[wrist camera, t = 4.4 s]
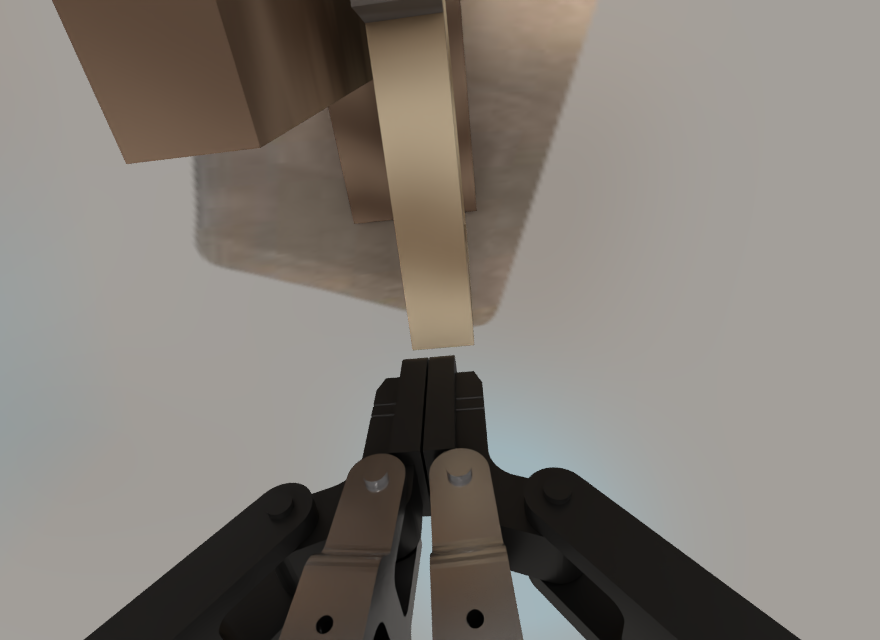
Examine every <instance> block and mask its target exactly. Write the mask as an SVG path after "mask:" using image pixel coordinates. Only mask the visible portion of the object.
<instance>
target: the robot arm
mask: <svg viewBox="0 0 880 640" xmlns="http://www.w3.org/2000/svg"><path fill="white" fill-rule="evenodd" d="M371 416H372V418H371V420H370V425H369V429H368V434H367V439H366V444H365V448H364V453H363V458H362V460H360V461H359V462H358V463H356V464H355V465H354V466H353V468H352V469H351V470H350V472H349V474H348V476H347V479H346V480H345V481H344V482H342V483H340V484H339V485H336V486H334V487H331V488H328V489H325V490H322V491H319V492H316V493H313V494H311V492H310V490H309V489H308V488H307V487H306V486H304V485H302V484H298V483H286V484H282V485H279V486H276V487H274V488H272V489H270V490H269V491H267V492H266V493H265V494H263V495H262V496H261V497H260V498H259V499H257V500H256V501H255V502H253V503H252V504H251V505H250V506H248V507H247V508H246V509H245V510H244V511H242V512H241V513H240V514H239V515H238V516H236V517H235V518H234V519H232V520H231V521H230V522H229V523H228V524H226V525H225V526H224V527H223V528H221V529H220V530H219V531H218V532H216V533H215V534H214V535H213V536H211V537H210V538H209V539H208V540H207V541H205V542H204V543H203V544H202V545H200V546H199V547H198V548H197V549H195V550H194V551H193V552H192V553H190V554H189V555H188V556H187V557H186V558H184V559H183V560H182V561H180V562H179V563H178V564H177V565H176V566H175V567H173V568H172V569H171V570H169V571H168V572H167V573H166V574H164V575H163V576H162V577H161V578H159V579H158V580H157V581H156V582H155V583H153V584H152V585H151V586H150V587H148V588H147V589H146V590H145V591H143V592H142V593H141V594H140V595H138V596H137V597H136V598H135V599H134V600H132V601H131V602H130V603H129V604H127V605H126V606H125V607H124V608H122V609H121V610H120V611H119V612H117V613H116V614H115V615H114V616H113V617H111V618H110V619H109V620H108V621H106V622H105V623H104V624H103V625H101V626H100V627H99V628H98V629H96V630H95V631H94V632H93V633H92V634H90V635H89V636H88V637H87V638H85V639H84V640H411V623H412V615H413V607H414V600H415V592H416V585H417V578H418V571H419V564H420V556H421V548H422V542H421V530H422V516H431V526H432V553H431V554H430V580H431V609H432V637H433V640H523V636H522V630H521V625H520V620H519V614H518V609H517V604H516V598H515V593H514V587H513V582H512V577H511V572H510V570H511V571H514V572H517V573H521V574H524V575H528V576H529V578H530V580H531V582H532V583H533V585H534V586H535V587H536V588H537V589H538V590H539V591H540V592H541V593H542V594H543V595H544V596H545V597H546V598H547V599H548V601H550V603H552V605H553V606H554V607H555V608H556V609H557V610H558V611H559V612H560V613H561V614H562V615H563V616H564V617H565V618H566V619H567V620H568V621H569V622H570V623H571V624H572V625H573V626H574V627H575V628H576V630H577V631H578V632H579V633H581V635H582V636H583V637H584V638H585V639H586V640H800V639H799V638H798V637H796V636H795V635H794V634H792V633H791V632H790V631H788V630H787V629H786V628H784V627H783V626H782V625H780V624H779V623H777V622H776V621H775V620H773V619H772V618H771V617H769V616H768V615H767V614H765V613H764V612H763V611H761V610H760V609H759V608H757V607H756V606H754V605H753V604H752V603H750V602H749V601H748V600H746V599H745V598H743V597H742V596H741V595H740V594H738V593H737V592H735V591H734V590H733V589H731V588H730V587H729V586H727V585H726V584H725V583H723V582H722V581H721V580H719V579H718V578H716V577H715V576H713V574H711V573H710V572H708V571H707V570H705V569H704V568H703V567H701V566H700V565H699V564H698V563H696V562H695V561H694V560H692V559H691V558H690V557H688V556H687V555H685V554H684V553H683V552H681V551H680V550H679V549H677V548H676V547H674V546H673V545H672V544H670V543H669V542H668V541H666V540H665V539H663V538H662V537H661V536H660V535H658V534H657V533H655V532H654V531H653V530H651V529H650V528H649V527H648V526H646V525H645V524H643V523H642V522H640V521H639V520H638V519H637V518H635V517H634V516H633V515H631V514H630V513H629V512H627V511H626V510H625V509H623V508H622V507H620V506H619V505H618V504H616V503H615V502H614V501H612V500H611V499H610V498H608V497H607V496H605V495H604V494H603V493H601V492H600V491H599V490H597V489H596V488H594V487H593V486H592V485H591V484H589V483H588V482H587V481H585V480H584V479H583V478H581V477H580V476H578V475H577V474H575V473H574V472H571V471H569V470H566V469H563V468H545V469H541V470H539V471H537V472H535V473H534V474H533V475H531V477H529V478H525V477H521V476H516V475H513V474H509V473H507V472H505V471H503V470H501V469H500V468H499V467H498V466H496V465H495V464H494V462H493V461H492V460H491V458H490V456H489V452H488V444H487V432H486V421H485V409H484V398H483V387H482V382H481V380H480V379H479V378H478V376H477V375H476V374H475V372H474V371H472V372H459V373H457V370H456V361H455V356H454V355H452V356H440V357H430V358H429V359H428V358H417V359H405V360H403V361H402V367H401V374H400V377H397V378H387V379H385V381H384V382H383V383H382V385H381V386H380V387H379V388H378V390H377V391H376V396H375V400H374V407H373V410H372V415H371Z"/></svg>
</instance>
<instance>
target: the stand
mask: <svg viewBox="0 0 880 640" xmlns="http://www.w3.org/2000/svg"><path fill="white" fill-rule="evenodd" d="M52 1H53V4H54V6H55V8H56V10H57V12H58V14H59V17H60V19H61V21H62V23H63V26H64V28H65V30H66V32H67V34H68V36H69V39H70V41H71V43H72V45H73V47H74V50H75V52H76V54H77V56H78V58H79V61H80V63H81V65H82V67H83V69H84V72H85V74H86V76H87V78H88V80H89V82H90V85H91V87H92V89H93V92H94V94H95V96H96V98H97V100H98V103H99V105H100V107H101V109H102V111H103V113H104V116H105V118H106V120H107V122H108V125H109V127H110V129H111V131H112V133H113V135H114V138H115V140H116V142H117V144H118V147H119V149H120V151H121V153H122V155H123V158H124V160H125V162H126V164H131V163H138V162H147V161H155V160H164V159H171V158H179V157H188V156H197V155H205V154H213V153H221V152H229V151H238V150H246V149H254V148H261V147H262V146H264V145H266V144H267V143H269V142H271V141H272V140H274V139H276V138H277V137H279V136H281V135H282V134H284V133H286V132H287V131H289V130H290V129H292V128H294V127H295V126H297V125H299V124H300V123H302V122H304V121H305V120H307V119H309V118H310V117H312V116H314V115H315V114H317V113H318V112H320V111H322V110H323V109H325V108H327V107H328V108H329V112H330V117H331V121H332V126H333V130H334V135H335V139H336V144H337V148H338V153H339V157H340V162H341V166H342V171H343V175H344V180H345V184H346V189H347V193H348V198H349V202H350V207H351V211H352V216H353V220H354V224H357V223H366V222H376V221H385V220H394V219H393V212H392V205H391V198H390V191H389V184H388V177H387V171H386V164H385V157H384V150H383V143H382V136H381V129H380V122H379V116H378V109H377V102H376V95H375V88H374V81H373V74H372V67H371V61H370V54H369V47H368V40H367V33H366V26H365V23H364V21H363V20H362V19H361V18H360V17H359V15H358V14H357V13H356V12H355V11H354V9H353V8H352V7H351V1H350V0H52ZM445 3H446V14H447V25H448V36H449V47H450V57H451V68H452V79H453V90H454V101H455V112H456V123H457V134H458V145H459V156H460V167H461V178H462V189H463V200H464V211H465V212H469V211H477V210H476V197H475V184H474V172H473V159H472V146H471V134H470V121H469V108H468V95H467V83H466V70H465V57H464V45H463V32H462V19H461V6H460V0H445Z"/></svg>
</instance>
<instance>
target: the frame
mask: <svg viewBox="0 0 880 640" xmlns="http://www.w3.org/2000/svg"><path fill="white" fill-rule="evenodd" d="M350 1H351V7H352V8H353V9H354V11H355V12H356V13H357V14H358V15H359V17H360V18H361V19H362V20H363V21H364V23H365V26H366V33H367V40H368V47H369V54H370V61H371V67H372V74H373V81H374V88H375V95H376V102H377V109H378V116H379V122H380V129H381V136H382V143H383V150H384V157H385V164H386V171H387V177H388V184H389V191H390V198H391V205H392V212H393V219H394V225H395V232H396V239H397V246H398V253H399V260H400V267H401V274H402V280H403V287H404V294H405V301H406V308H407V315H408V321H409V329H410V335H411V342H412V349H413V350H422V349H434V348H446V347H457V346H470V345H474V335H473V318H472V302H471V286H470V271H469V255H468V244H467V233H466V222H465V211H464V200H463V189H462V178H461V167H460V156H459V145H458V134H457V123H456V112H455V101H454V90H453V79H452V68H451V57H450V47H449V36H448V25H447V14H446V3H445V0H350Z"/></svg>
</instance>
